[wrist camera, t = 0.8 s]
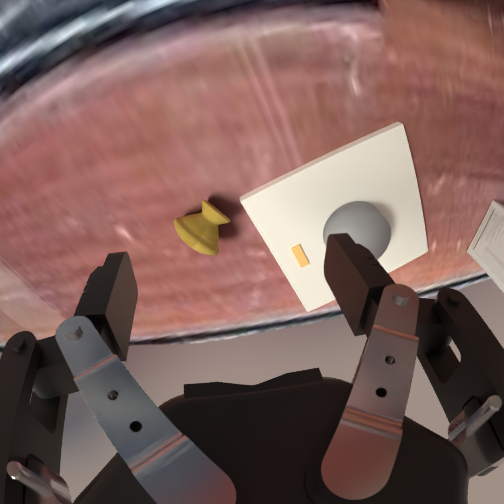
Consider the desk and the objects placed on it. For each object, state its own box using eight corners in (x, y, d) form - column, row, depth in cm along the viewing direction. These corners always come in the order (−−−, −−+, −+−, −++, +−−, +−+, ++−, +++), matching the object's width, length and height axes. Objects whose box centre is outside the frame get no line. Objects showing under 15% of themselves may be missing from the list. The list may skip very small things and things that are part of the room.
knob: (209, 244, 33) (209, 274, 29) (169, 217, 30) (163, 244, 26) (239, 214, 31) (243, 241, 27) (199, 183, 29) (197, 207, 25)
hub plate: (397, 121, 27) (418, 131, 24) (424, 247, 37) (438, 264, 34) (239, 197, 30) (242, 215, 27) (305, 306, 40) (312, 328, 37)
